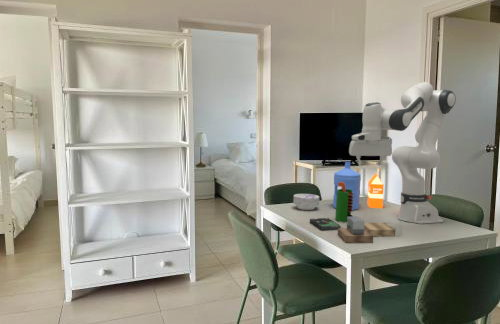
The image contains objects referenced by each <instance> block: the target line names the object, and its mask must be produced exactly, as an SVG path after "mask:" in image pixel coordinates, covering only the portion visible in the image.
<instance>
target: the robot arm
mask: <svg viewBox="0 0 500 324" xmlns="http://www.w3.org/2000/svg"><path fill="white" fill-rule="evenodd" d="M456 99H457V98H456V95H455V92H453V91H452V90H448V89H442V90H441V89H437V90H436V89H435V90H434V87H433V85H432V84H431V83H429V82H428V81H422V82H418V83H416V84H414V85H413V86H411V87H408V89H406V90H405V91H404V92H403V93H402V95H401V98H400V103H401V106H402V107H403V109H402V108H401V109H386V108H385V107H383V106H382V103H381V102H369V103H366V104H365V105H364V107H363V111H362V118H361V119H362V120H361V121H362V129H361V132H359V133H356V134H353V135H351V141H350V143H349V147H348V153H349V156H352V157H356V160H357V161H358V166H363V162H364V161H361V158H362V156H363V157H364V156H365V157H378V156H379V161H378V160H377V165H378V166H382V165H383V164H382V163H383V160H385V157H390V156H391V160H392V161H393V163H394V164H395V165H396V166H397V168H398V170H399V173H400V175H401V181H402V182H401V183H402V184H401V191H400V206H399V211H398V214H397V216H396V217H397V219H398V220H400V221H403V222H408V223H415V224H419V225H422V224H423V225H424V224H437V223H443V222H444V220H443V218H441V217H439V211H438V209H437V208H436V207H435V206H434V205H433V204H431V203H430V202H429V201H428V200H431V199H432V196H431V195H429V194H428V195H427V194H425V192H426V191H425V188H426V180H425V177H423V176H422V175H421V174H420V173H419V171H418V169H422V170H430V169H436V168H437V167H438V166H439V164H440V162H441V155H440V153H439V151H438V149H436V144H437V141H438V139H439V138H440V136H441V133H442V131H443V130H444V126H445V124H446V119H447V117H446V114H449V113H450V112H451V110H452V109H453V108H454V106H455V104H456V102H457V101H456ZM421 112H426V116H425V117H424V118H423V119H422V121H421V123H420V125H419V126H418V129H417V131H415V134H414V138H415V141H416V142H417V144H418V145H417V146H406V145H405V146H397V147H396V148H395V149H393V148H392V146H393V145H392V144H393V138H392V137H390V136H382V130H385V131H386V130H387V131H398V132H403V131H406V129H407V128H409V126H410V124H411V123H412V120H414V119H415V117H417V116H418V114H419V113H421Z"/></svg>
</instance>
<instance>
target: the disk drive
mask: <svg viewBox="0 0 500 324" xmlns="http://www.w3.org/2000/svg"><path fill="white" fill-rule="evenodd" d="M309 224H310V225H312V226H314V227H315V228H317V229H318V230H320V231H322V232H324V231H326V232H327V231H338V228H342V226H341V225H340V224H339V223H337V222H336V221H334V220H333V219H330V218H329V217H322V218H321V217H318V218H309Z"/></svg>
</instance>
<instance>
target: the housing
mask: <svg viewBox="0 0 500 324" xmlns="http://www.w3.org/2000/svg"><path fill="white" fill-rule="evenodd" d="M364 223H365V220H363V219H362V218H361V217H360V216H353V217H347V222H346V228H347V230H348V231H349V232H350V233H351V234H352V235H364Z"/></svg>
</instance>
